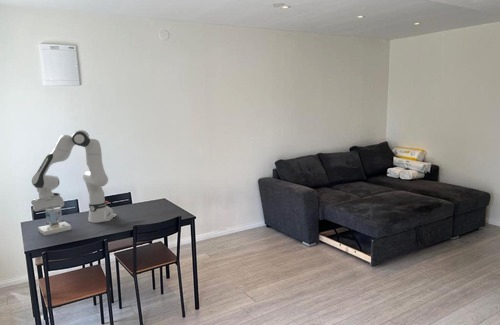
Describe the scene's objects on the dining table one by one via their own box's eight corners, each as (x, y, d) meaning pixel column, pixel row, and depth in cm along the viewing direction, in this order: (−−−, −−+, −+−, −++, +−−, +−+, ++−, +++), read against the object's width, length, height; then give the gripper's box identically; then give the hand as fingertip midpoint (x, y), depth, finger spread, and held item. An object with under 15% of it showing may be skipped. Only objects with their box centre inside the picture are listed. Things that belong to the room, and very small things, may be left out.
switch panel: (38, 231, 260) (37, 222, 259) (65, 225, 272) (64, 217, 271) (44, 235, 251) (43, 227, 250) (71, 229, 263) (70, 221, 262)
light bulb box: (46, 223, 275) (45, 210, 274) (46, 221, 281) (45, 208, 279) (62, 221, 281) (61, 208, 279) (61, 219, 287) (60, 206, 285)
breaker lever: (51, 226, 261) (49, 211, 261) (56, 225, 263) (53, 210, 263) (52, 226, 259) (49, 211, 260) (57, 225, 262) (54, 210, 262)
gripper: (31, 197, 259) (35, 214, 254) (61, 193, 273) (67, 208, 268) (30, 202, 263) (34, 218, 258) (60, 197, 277) (65, 212, 271)
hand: (51, 213), depth 263 cm, fingers closed, pressing on breaker lever
